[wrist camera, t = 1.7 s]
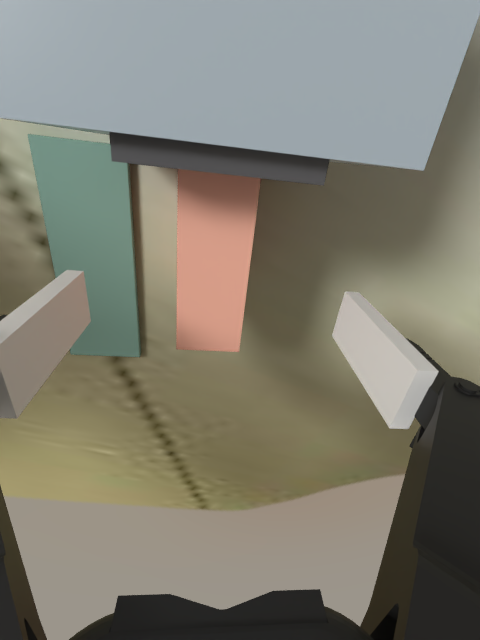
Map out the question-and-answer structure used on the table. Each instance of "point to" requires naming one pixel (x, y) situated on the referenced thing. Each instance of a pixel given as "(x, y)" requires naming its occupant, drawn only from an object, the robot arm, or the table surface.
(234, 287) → the long salmon pink block
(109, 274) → the mat
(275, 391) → the table surface
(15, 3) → the pale blue cube
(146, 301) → the table surface
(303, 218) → the table surface
